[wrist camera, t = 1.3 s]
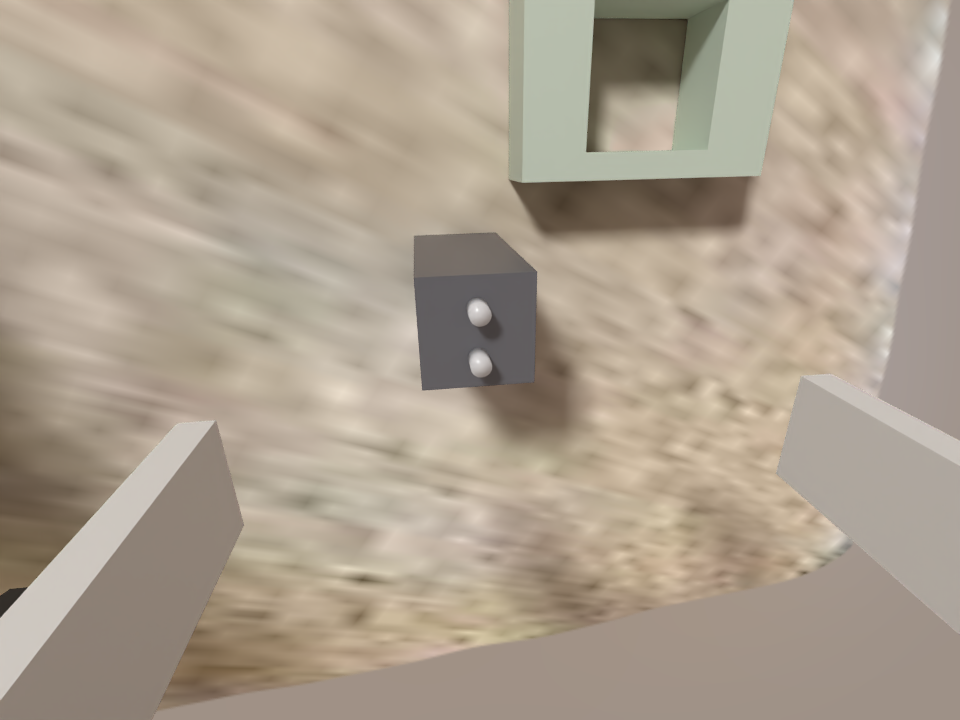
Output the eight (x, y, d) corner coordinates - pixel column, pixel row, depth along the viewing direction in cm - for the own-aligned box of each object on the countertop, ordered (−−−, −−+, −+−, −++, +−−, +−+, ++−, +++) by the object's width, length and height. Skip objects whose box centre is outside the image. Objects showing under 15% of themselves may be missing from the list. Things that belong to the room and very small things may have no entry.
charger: (419, 314, 28) (422, 402, 18) (413, 235, 26) (413, 284, 16) (496, 310, 29) (540, 393, 19) (495, 232, 27) (543, 277, 17)
